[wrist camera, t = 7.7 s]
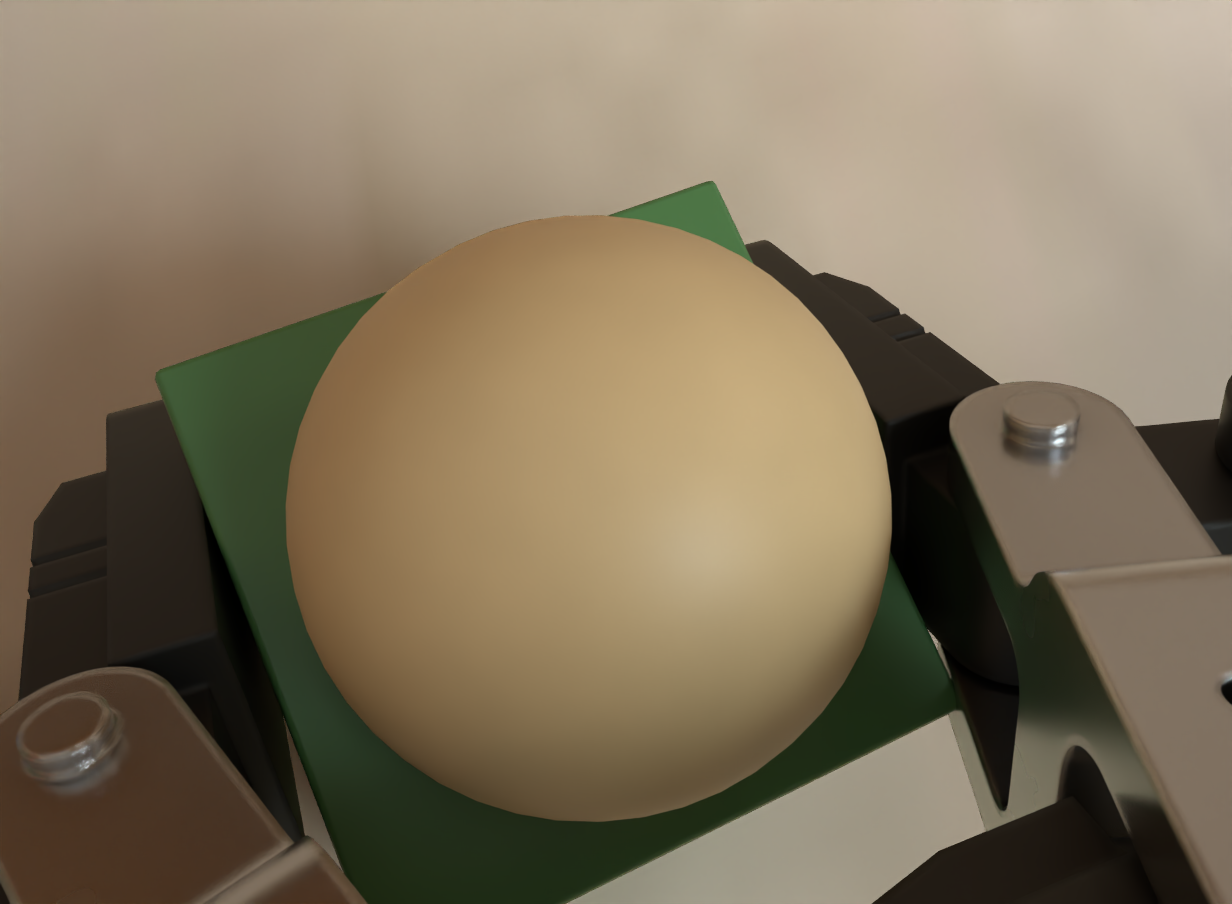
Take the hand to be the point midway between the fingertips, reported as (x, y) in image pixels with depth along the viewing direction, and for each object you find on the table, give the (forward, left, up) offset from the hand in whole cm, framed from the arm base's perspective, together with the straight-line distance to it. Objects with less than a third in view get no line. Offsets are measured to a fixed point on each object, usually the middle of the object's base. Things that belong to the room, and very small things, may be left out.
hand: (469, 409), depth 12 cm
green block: (0, +2, -4) cm, 5 cm away
